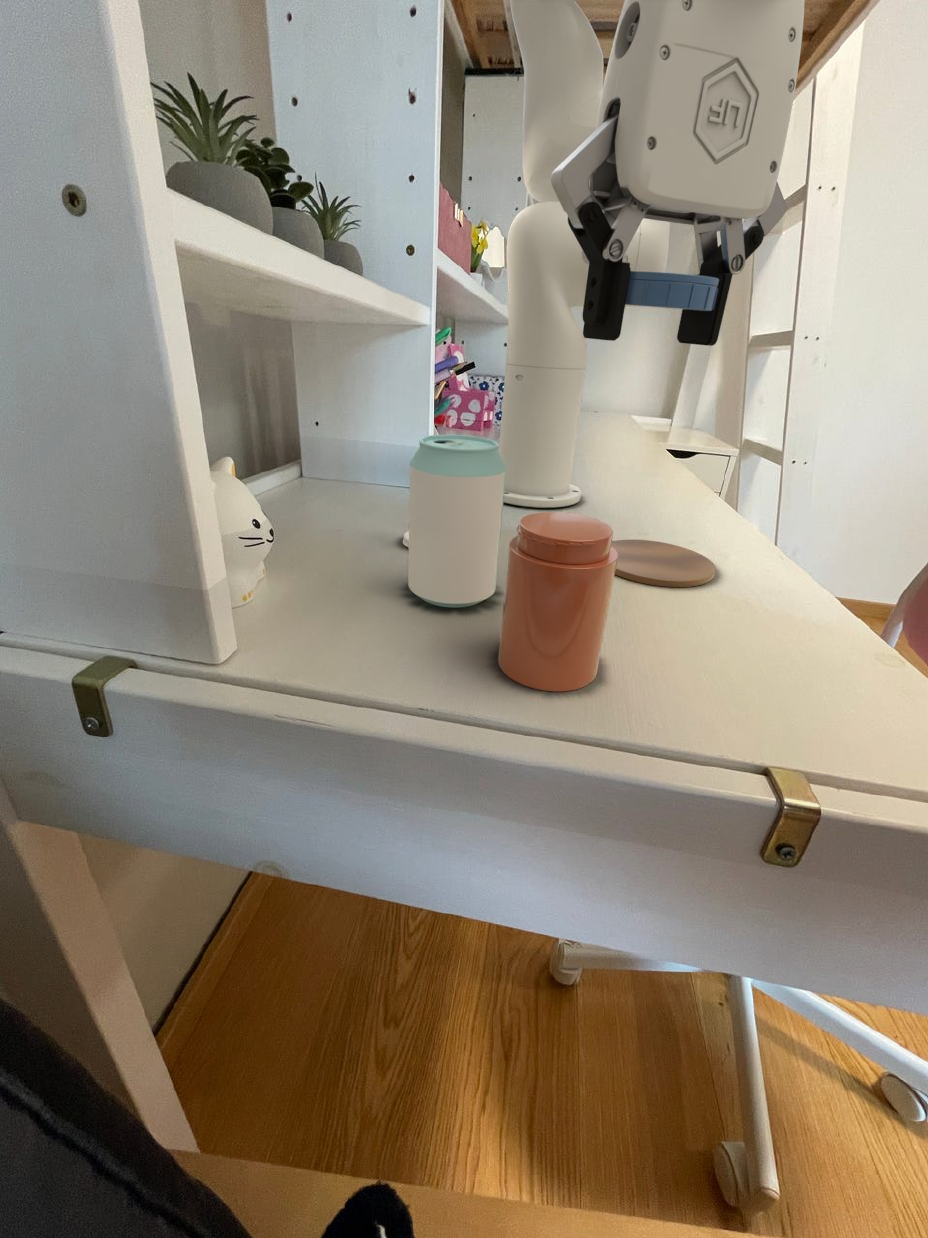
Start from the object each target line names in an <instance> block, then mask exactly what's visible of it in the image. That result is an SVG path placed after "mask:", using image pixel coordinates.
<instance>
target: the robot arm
mask: <svg viewBox="0 0 928 1238" xmlns="http://www.w3.org/2000/svg"><path fill="white" fill-rule="evenodd" d="M805 1H806V0H624V2H623V5H622V8H621V12H620V15H619V19H618V22H617V26H616V30H615V34H614V37H613V41H612V46H611V50H610V53H609V58H608V62H607V67H606V72H605V75H604V69H605V68H604V54H603V51H602V48H601V45H600V44H601V43H600V42H599V39H598V37H597V35H596V33H595V30H594V29H593V26H592V24H591V22H590V20H589V19H588V16H587V15H586V14H585V13H584V11H583V10H582V8H581V7H580V6H579V4H578V3H577V2H576V0H509V5H510V12H511V16H512V22H513V27H514V31H515V35H516V39H517V43H518V48H519V51H520V55H521V61H522V66H523V67H522V68H523V77H524V78H523V80H524V83H523V109H522V110H523V112H522V113H523V114H522V116H523V117H522V148H521V149H522V150H521V151H522V153H521V155H522V157H521V158H522V161H521V162H522V165H521V166H522V176H523V182H524V186H525V189H526V191H527V193H528V195H529V196H530V197H531V198H532V199H533V200H535V201H537V203H533V204H531V205H528V206H526V207H525V208H523V209H522V210H520V212H518V213H517V215H516V216H515V217H514V218H513V220H512V222H511V225H510V227H509V229H508V234H507V240H506V274H507V275H506V276H507V294H508V295H507V296H508V315H507V316H508V319H507V321H508V322H507V324H508V325H507V342H506V352H505V353H506V354H505V370H504V381H503V382H504V383H503V393H502V394H503V395H502V406H501V420H500V430H499V431H500V432H499V442H498V444H499V449H498V452H499V454H500V456H501V458H502V460H503V462H504V464H505V466H506V477H505V489H504V500H503V504H508V505H513V506H519V507H520V506H521V507H526V508H527V507H528V508H540V509H541V508H542V509H543V508H545V509H547V508H549V509H550V508H551V509H552V508H553V509H554V508H564V507H570V506H573V505H576V504H577V503H579V502H580V501H581V497H582V491H581V489H580V488H579V487H578V486H577V485H574V484H573V483H571V481H572V475H573V474H572V473H573V467H574V466H573V465H574V458H575V452H576V445H577V444H576V443H577V436H578V430H579V423H580V422H579V421H580V414H581V409H582V408H581V407H582V400H583V393H584V386H585V378H586V371H587V364H588V363H587V362H588V345H587V340H586V339H589V340H590V339H591V340H601V341H612V342H613V341H614V342H615V341H616V340H617V339H619V338H620V336H621V332H622V327H623V321H624V314H625V309H637V308H638V309H639V307H637V306H625V303H626V297H627V290H628V284H629V278H630V272H631V271H641V272H662V273H666V269H667V264H668V256H669V246H670V230H671V229H670V227H671V223H673V224H675V223H676V224H682V225H689V226H693V231H694V241H695V249H696V257H697V264H698V266H697V267H698V271H699V273H698V275H700V276H708V277H714V278H718V279H719V283H718V286H717V288H718V293H717V297H716V301H715V305H714V309H712V311H696V310H681V313H680V320H679V325H678V330H677V335H676V339H677V341H678V343H680V344H685V345H686V344H687V345H697V346H698V345H699V346H709V347H712V346H715V345H716V344H717V342H718V340H719V335H720V331H721V326H722V324H723V323H722V322H723V318H724V313H725V310H726V305H727V301H728V297H729V292H730V288H731V283H732V280H733V276H734V275H735V276H736V275H739V274H740V273H742V271H743V270H744V267H745V265H746V261H747V260H748V259H749V257H750V256H751V255H752V254H753V253H754V252H756V251H757V250H758V248H759V247H761V245H762V243H763V242H764V241H763V240H764V238H765V237H766V236H768V234H769V233H770V232H771V231H772V230H773V229H774V228H775V226H777V224H778V223H779V222H780V221H781V220H782V218H783V217H784V216H785V214H786V210H787V204H786V200H785V197H784V195H783V192H782V190H781V188H780V185H779V182H778V178H779V173H780V169H781V164H782V160H783V157H784V152H785V146H786V142H787V138H788V137H787V136H788V131H789V127H790V126H789V125H790V122H791V115H792V110H793V106H794V100H795V99H794V98H795V93H796V87H797V81H798V74H799V67H800V58H801V51H802V43H803V42H802V41H803V30H804V22H805V21H804V19H805ZM743 220H744V221H743ZM717 232H719V236H720V244H719V243H718V242H719V241H718V233H717ZM573 307H577V308H578V307H579V308H581V307H582V321H583V330H582V329H581V327H580V326H579V323H578V322H577V320H576V318H575V316H574V315H573V312H572V310H571V309H572V308H573Z"/></svg>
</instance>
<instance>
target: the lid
mask: <svg viewBox="0 0 928 1238" xmlns="http://www.w3.org/2000/svg"><path fill="white" fill-rule="evenodd" d="M718 283H719V279H718V278H714V277H708V276H700V275H699V274H690V273H689V274H688V273H676V272H665V273H662V272H641V271H631V272H630V278H629V284H628V290H627V297H626V303H625V306H637V307H638V308H651V309H667V310H680V311H682V310H696V311H712V309H714V305H715V301H716V297H717V293H718V288H717V286H718Z"/></svg>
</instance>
